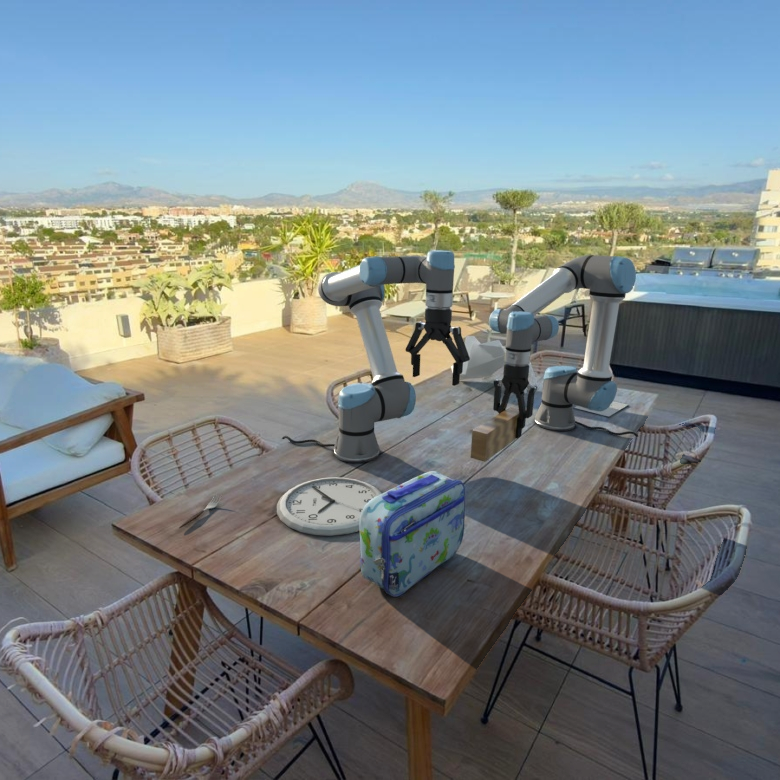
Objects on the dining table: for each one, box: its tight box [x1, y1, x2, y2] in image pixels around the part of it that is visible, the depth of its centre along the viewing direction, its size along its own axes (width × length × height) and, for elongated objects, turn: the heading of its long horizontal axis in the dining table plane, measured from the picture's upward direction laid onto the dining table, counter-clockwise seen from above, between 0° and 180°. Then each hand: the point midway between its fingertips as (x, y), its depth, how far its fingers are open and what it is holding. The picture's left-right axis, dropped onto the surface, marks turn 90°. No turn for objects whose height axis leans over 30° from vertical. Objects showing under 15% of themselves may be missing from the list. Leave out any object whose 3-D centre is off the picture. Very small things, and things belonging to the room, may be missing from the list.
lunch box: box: [358, 470, 466, 598], centre depth 113 cm, size 26×11×21 cm, turn 135°
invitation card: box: [573, 400, 629, 418], centre depth 226 cm, size 21×1×15 cm
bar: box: [470, 406, 520, 463], centre depth 157 cm, size 25×5×8 cm, turn 143°
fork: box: [178, 493, 223, 529], centre depth 137 cm, size 3×16×2 cm, turn 160°
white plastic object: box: [450, 308, 540, 394], centre depth 253 cm, size 37×45×31 cm
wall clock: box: [276, 476, 384, 537], centre depth 142 cm, size 30×2×30 cm
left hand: (435, 380), depth 153 cm, fingers open, 13 cm apart
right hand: (510, 434), depth 165 cm, fingers closed on bar, 5 cm apart
